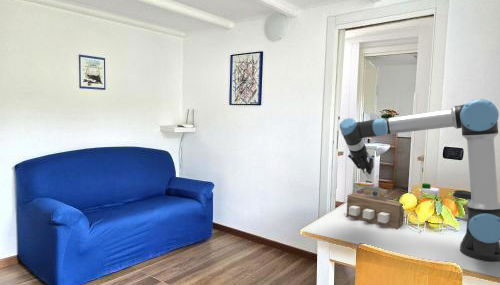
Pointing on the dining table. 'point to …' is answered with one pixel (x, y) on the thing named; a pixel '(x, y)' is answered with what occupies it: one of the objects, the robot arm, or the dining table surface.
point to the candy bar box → (361, 187)
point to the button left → (355, 210)
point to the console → (377, 206)
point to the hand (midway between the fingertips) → (369, 176)
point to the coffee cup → (465, 196)
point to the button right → (384, 217)
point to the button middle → (369, 213)
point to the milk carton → (429, 190)
